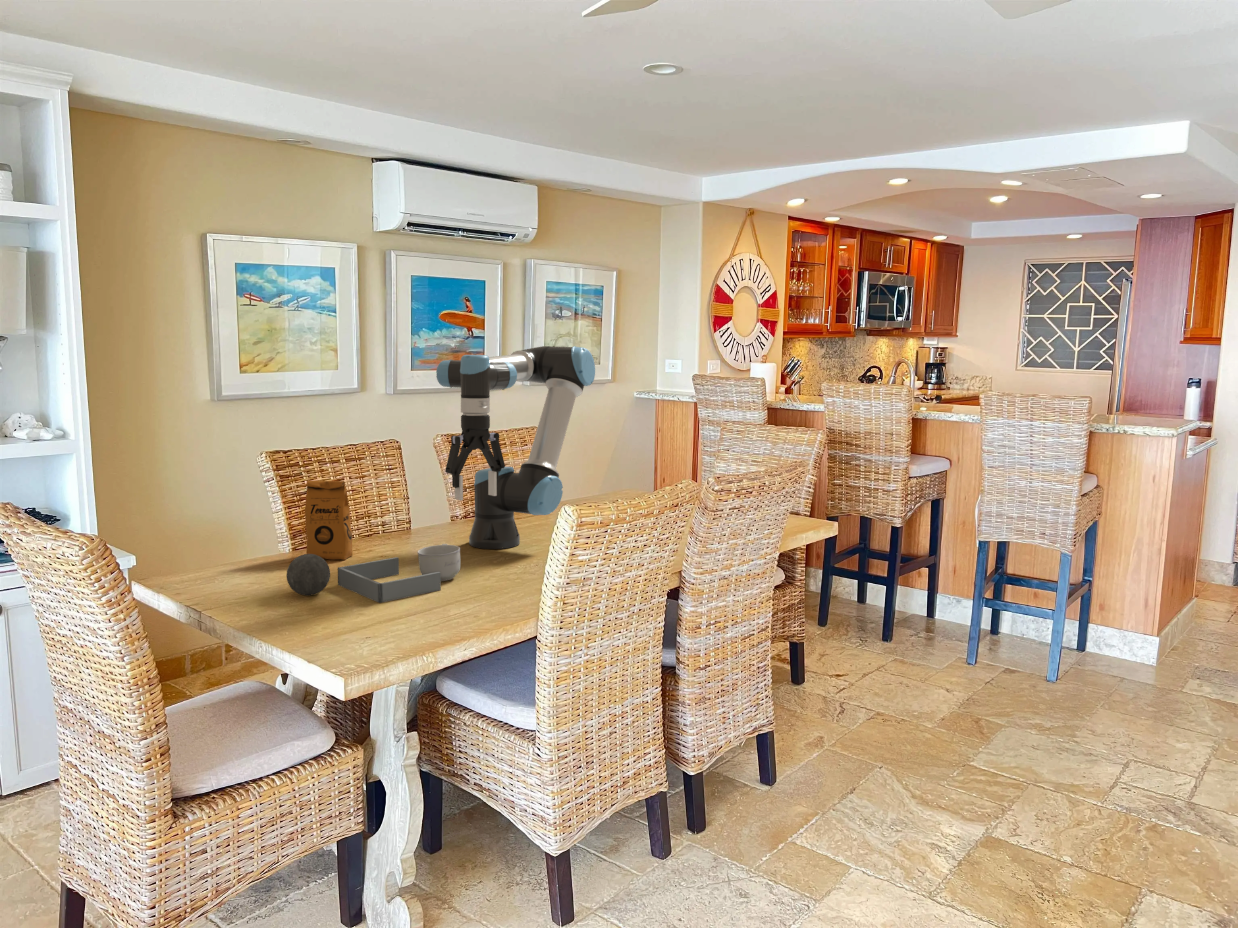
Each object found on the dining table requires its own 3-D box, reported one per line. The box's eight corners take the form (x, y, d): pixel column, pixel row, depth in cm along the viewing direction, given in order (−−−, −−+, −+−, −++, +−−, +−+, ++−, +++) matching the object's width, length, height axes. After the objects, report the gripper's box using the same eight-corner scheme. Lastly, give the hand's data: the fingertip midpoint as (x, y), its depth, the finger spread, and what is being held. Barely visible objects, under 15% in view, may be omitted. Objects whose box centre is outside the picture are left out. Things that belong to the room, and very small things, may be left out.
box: (397, 573, 245) (397, 557, 244) (440, 589, 230) (440, 572, 230) (338, 584, 234) (337, 567, 233) (379, 602, 219) (379, 584, 218)
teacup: (451, 585, 235) (450, 554, 234) (411, 582, 237) (410, 552, 236) (470, 571, 248) (470, 542, 247) (432, 569, 250) (432, 540, 249)
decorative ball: (327, 599, 221) (326, 558, 219) (283, 601, 219) (282, 559, 218) (333, 588, 231) (332, 548, 229) (291, 589, 229) (289, 549, 228)
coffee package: (345, 562, 256) (343, 483, 253) (301, 561, 257) (298, 482, 254) (358, 554, 266) (356, 478, 263) (315, 552, 267) (313, 476, 264)
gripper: (446, 417, 234) (447, 504, 237) (518, 413, 249) (518, 494, 252) (430, 415, 239) (431, 500, 242) (501, 411, 255) (501, 491, 258)
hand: (475, 497), depth 247 cm, fingers open, 10 cm apart
